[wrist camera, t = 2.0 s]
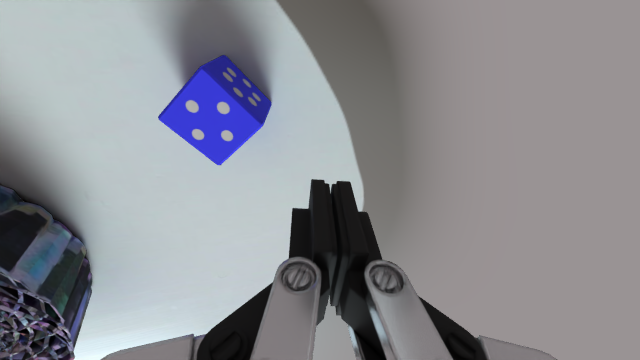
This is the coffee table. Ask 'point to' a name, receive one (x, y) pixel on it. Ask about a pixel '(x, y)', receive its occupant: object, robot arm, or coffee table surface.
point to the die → (217, 110)
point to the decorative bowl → (39, 283)
